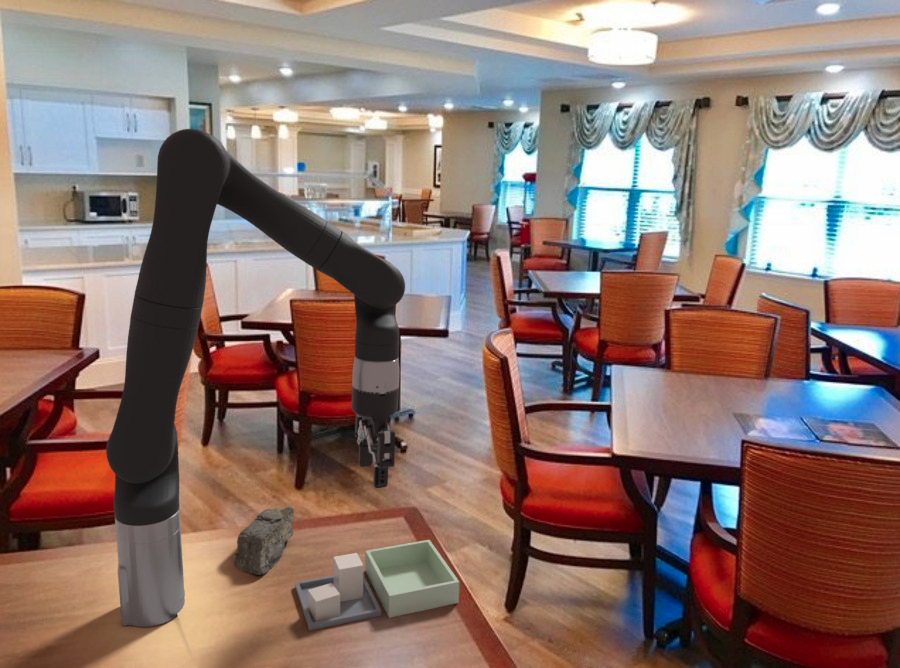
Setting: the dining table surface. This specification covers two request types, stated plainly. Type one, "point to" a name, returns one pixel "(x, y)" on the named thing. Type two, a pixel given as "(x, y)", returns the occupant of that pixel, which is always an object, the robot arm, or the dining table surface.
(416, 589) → the green bin
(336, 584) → the off-white rectangular block
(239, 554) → the rock
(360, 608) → the slate tray
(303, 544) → the dining table surface
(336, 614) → the smooth off-white cube
